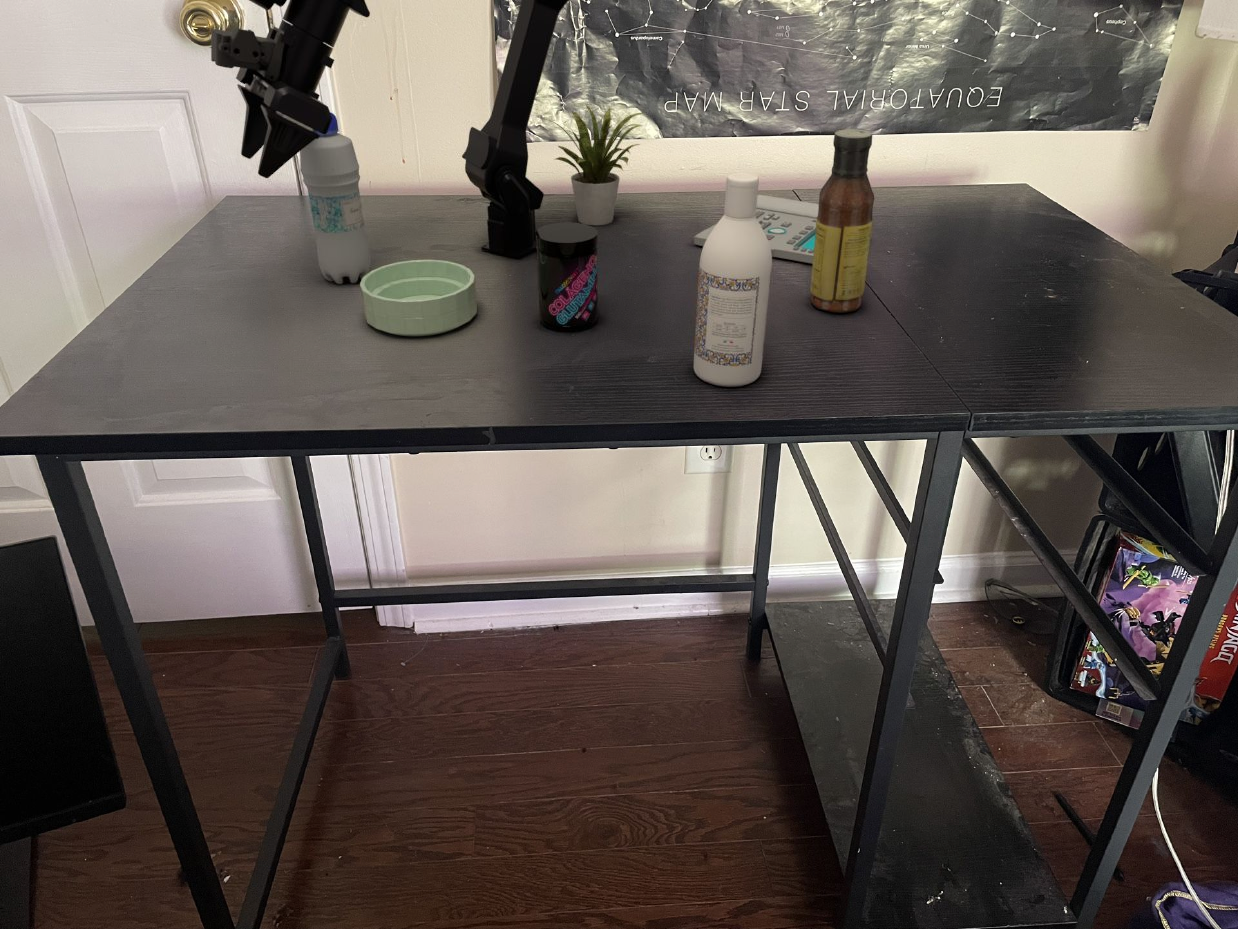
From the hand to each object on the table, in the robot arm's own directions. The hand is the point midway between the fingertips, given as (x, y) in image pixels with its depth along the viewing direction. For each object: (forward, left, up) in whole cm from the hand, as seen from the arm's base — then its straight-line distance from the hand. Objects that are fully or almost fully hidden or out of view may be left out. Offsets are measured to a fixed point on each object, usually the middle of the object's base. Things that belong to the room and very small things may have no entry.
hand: (253, 166), depth 102 cm
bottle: (-8, +4, -15) cm, 17 cm away
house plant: (-45, +19, -15) cm, 51 cm away
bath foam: (-10, +56, -15) cm, 59 cm away
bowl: (-4, +20, -15) cm, 25 cm away
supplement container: (-12, +35, -15) cm, 40 cm away
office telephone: (-54, +45, -15) cm, 71 cm away
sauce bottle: (-33, +59, -15) cm, 69 cm away
